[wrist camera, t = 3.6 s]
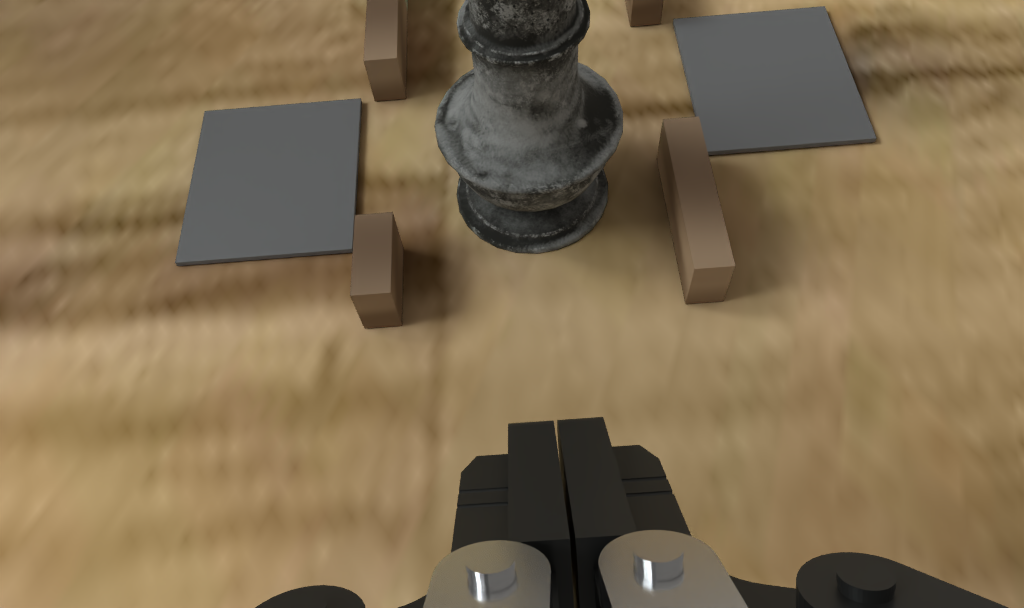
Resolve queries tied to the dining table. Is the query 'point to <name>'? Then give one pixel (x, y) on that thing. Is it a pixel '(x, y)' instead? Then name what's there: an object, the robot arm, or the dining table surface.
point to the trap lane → (678, 160)
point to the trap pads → (336, 126)
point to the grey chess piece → (528, 125)
